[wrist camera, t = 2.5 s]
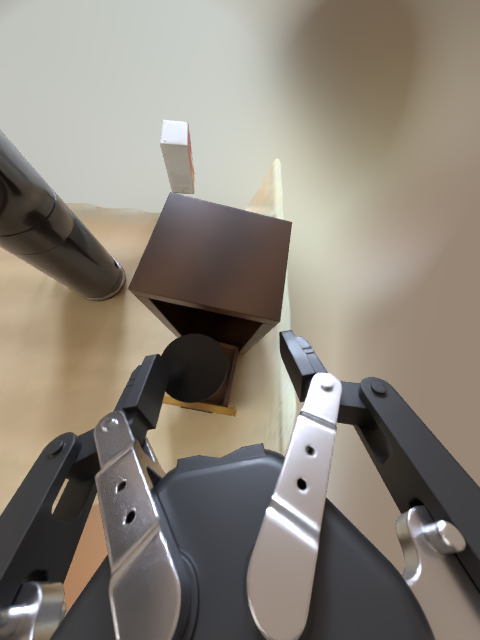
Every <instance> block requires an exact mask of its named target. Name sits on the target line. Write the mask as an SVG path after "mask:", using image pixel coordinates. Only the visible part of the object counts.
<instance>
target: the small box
mask: <svg viewBox="0 0 480 640" xmlns="http://www.w3.org/2000/svg"><path fill="white" fill-rule="evenodd" d="M160 145H161V149H162V153H163V157H164V161H165V165H166V169H167V173H168V177H169V181H170V185H171V189H172V192H173V193H186V194H194V169H193V159H192V151H191V142H190V134H189V125H188V123H187V122H178V121H170V120H162V134H161V141H160Z"/></svg>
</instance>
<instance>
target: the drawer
mask: <svg viewBox="0 0 480 640" xmlns="http://www.w3.org/2000/svg"><path fill="white" fill-rule="evenodd" d="M218 343H219V344H220V346H221V347H222V348H223V350H224V352H225V355H226V358H227V374H226V377H225V380H224V382H223V384H222V386H221V387H220V388H219V390H218V391H217V392H216V393H215V394H214V395H212V396H211V397H209V398H208V399H206V400H204V401H201V402H197V403H184V402H180V401H177V400H175V399H174V398H172V397H171V396H169V395H168V394H167V393H165V394H164V398H163V402H162V403H166V404H171V405H176V406H181V408H187V409H192V410H197V411H203V412H208V413H213V412H214V413H219V414H225V415H230V416H235V415H236V408H235V406H234V405H229V404H228V403H229V398H230V393H231V388H232V382H233V377H234V372H235V366H236V361H237V356H238V351H239V346H234V345H229V344H225V343H220V342H218Z"/></svg>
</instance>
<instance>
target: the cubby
mask: <svg viewBox="0 0 480 640" xmlns="http://www.w3.org/2000/svg"><path fill="white" fill-rule="evenodd" d="M291 227H292V222H289V221H285V220H281V219H277V218H273V217H269V216H265V215H261V214H257V213H253V212H249V211H245V210H241V209H237V208H232V207H229V206H224V205H221V204H216V203H212V202H208V201H204V200H200V199H196V198H192V197H188V196H184V195H180V194H176V193H171V192H170V194H169V196H168V198H167V201H166V203H165V205H164V208H163V210H162V212H161V214H160V217H159V219H158V221H157V224H156V226H155V228H154V231H153V233H152V235H151V237H150V240H149V242H148V244H147V247H146V249H145V251H144V254H143V256H142V258H141V260H140V263H139V265H138V267H137V270H136V272H135V274H134V277H133V279H132V281H131V284H130V286H129V288H128V289H129V290H130V291H131V292H132V293H133V294H134V295H135V296H136V297H137V298H138V299H139V300H140V301H141V302H142V303H143V304H144V305H145V306H146V307H147V308H148V309H149V310H150V311H151V312H152V313H153V314H154V315H155V316H156V317H157V318H158V319H159V320H160V321H161V322H162V323H163V324H164V325H165V326H166V327H167V328H168V329H169V330H170V331H172V332H173V333H174V334H175V335H176V336H177V337H178V338H179V337H181V336H183V335H187V334H193V333H198V334H204V335H207V336H209V337H211V338H213V339H214V340H216V341H217V342H220V343H225V344H229V345H234V346H239V351H238V353H240V354H245V353H246V352H247V351H248V350H249V349H250V348H251V347H253V346H254V345H255V344H256V343H257V342H258V341H259V340H260V339H261V338H262V337H264V336H265V335H266V334H267V333H268V332H269V331H270V330H271V329H272V328H274V327H275V326H276V325H277V324H278V323H279V322H280V318H281V309H282V301H283V293H284V284H285V276H286V268H287V260H288V251H289V243H290V235H291Z"/></svg>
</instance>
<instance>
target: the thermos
mask: <svg viewBox="0 0 480 640" xmlns="http://www.w3.org/2000/svg"><path fill="white" fill-rule="evenodd" d="M161 358H162V360H163V361H164V363H165V365H166V367H167V369H168V371H169V379H168V383H167V387H166V391H165V392H166V393H167V394H168V395H169V396H171V397H172V398H174V399H175V400H177V401H180V402H184V403H197V402H201V401H204V400H206V399H208V398H209V397H211V396H212V395H214V394H215V393H216V392H217V391H218V390H219V388H220V387H221V386H222V384H223V382H224V380H225V377H226V374H227V358H226V355H225V352H224V350H223V348H222V347H221V346H220V344H219V343H218V342H217V341H216V340H214V339H213V338H211V337H209V336H207V335H204V334H198V333H193V334H187V335H183V336H181V337H179V338H177V339H175V340H174V341H172V342H171V343H170V344H169V345H168V346H167V347H166V349H165V350H164V352H163V354H162V355H161Z"/></svg>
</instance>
